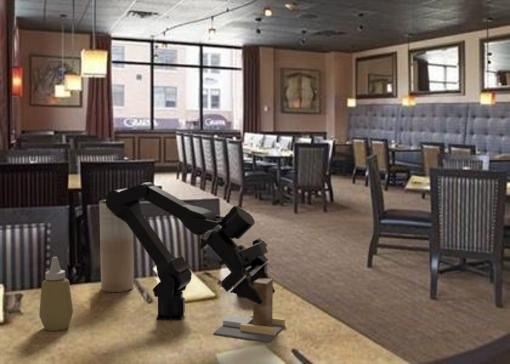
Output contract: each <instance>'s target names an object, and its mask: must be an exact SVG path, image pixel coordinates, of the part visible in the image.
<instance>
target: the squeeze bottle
mask: <svg viewBox="0 0 510 364" xmlns="http://www.w3.org/2000/svg"><path fill="white" fill-rule="evenodd" d="M44 275H45V277H44V278H45V279H44V280H43V281H42V282H41V288H40V298H39V299H40V300H39V301H40V302H39V314H38V316H39V318H40V321H41V324H42V326H43V328H44V329H45V331H46V330H47V331H51V332H57V331H63V330H65V329H67V328H68V327H69V326H70V323H71V320H72V317H73V314H74V313H73V312H74V308H73V300H72V293H71V286H70V280H69V279H68V278H66V271H65V270H63V269H61V266H60V261H59V259H58V256H52V258H51V264H50V268H49V270H47V271H45V274H44Z"/></svg>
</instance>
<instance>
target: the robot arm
mask: <svg viewBox="0 0 510 364" xmlns="http://www.w3.org/2000/svg"><path fill="white" fill-rule="evenodd" d="M105 200H106V201H105V204H106V206H107V208H108V209H109V210H110V211H111V212H112V213H113V214H114V215H115V216H116V217H118V218H119V219H121V220H123V221H124V222H126V223H127V225H128V226H129V228H130V229H131V230H132V232H133V236H135V237H136V239H137V240H138V242H139V243H140V244H141V246H142V248H143V249H144V250H145V252H146V254H147V255H148V256H149V257H150V258H151V260H152V261H153V263H154V264H155V267H156V275H157V278H158V279H159V282H158V283H157V284H156V285H155V286H154V287H153V288H152V292H153V295H154V297H156V298H157V315H156V318H155V319H156V320H181V319H182V317H183V316H184V315H185V313H186V298H185V297H184V296H183V295H184V294H183V293H184V292H183V291H186V289H187V286H188V285H189V284H190V283H191V281H192V275H193V274H192V270H191V265H189V264H188V263H187V261H186V260H185V258H184V257H183V256H182V255H180V256H177V257H176V256H174V255H173V254H171V252H170V251H169V250H168V247H166V245H165V243H163V241H162V240H161V238H160V237H159V236H158V234H157V233H156V232H155V230H154V229H153V227H152V226H151V225H150V223H149V221H147V218H146V217H145V215H144V214H143V213H142V209H141V203H140V202H141V201H143V200H145V201H146V202H148V203H151V204H153V205H154V206H156V207H157V208H158V209H159V208H160V209H161V210H163V211H165V212H166V213H168V214H170V215H171V216H173V217H175V218H177V219H178V220H179V221H180V222H181V223H182V225H183V227H185V228H186V229H187V230H188V231H190V232H191V234H194V235H196V236H202V235H205V234H208V233H209V234H208V235H207V237H206V236H205V237H202V238H200V245H199V249H200V250H203V249H205V248H210V250H211V251H212V252H213V253H214V254H215V255H216V257H218V259H219V262H218V264H219V265H220V266H221V267H222V266H225V267H226V268H227V270H228V271H229V274H227V275H226V277H224V278H223V279H222V280H221V287H222V289H223V290H224V291H225V292H226V293H228V292H229V293H231V294H235V295H236V296H237V295H240V296H242V297H241V298H243V297H244V298H245V299H247V300H249V301H250V302H255V303H258V304H261V303H262V302H263V301H262V299H261V297H260V296H259V294H258V293H257V291H256V290H255V288H254V287H253V286H252V284H251V281H253V282H254V281H256V280H257V279H259V278H267V279H270V278H269V275H268V270H267V269H268V266H269V263H268V261H269V259H268V258H267V257H266V256H265V254H268V253H269V251H268V249H267V247H268V243H266V242H265V240H263V239H261V238H260V237H259V238H257V239H254V240H253V241H252V245H250V246H247V247H245V246H244V245H242V244H239V245H238V244H237V243H236V242H235V240H234V239H236V240H239V239H241V238H242V237H243V236H244V235H245V234H246V233H247V232H248V231H249V230H250V229H251V228H252V227H253V226H254V225H255V223H256V222H255V219H254V217H253V216H252V215H251V214H250V212H247V211H246V210H245V209H243V208H240V207H239V205H237V204H236V205H233V206H232V207H231V208H230V210H229V212H227V213H226V214H225V216H221V215H218V214H216V213H215V212H213V211H212V210H210V209H207V208H204V207H202V206H196V205H192V204H189V203H187V202H185V201H183V200H182V199H179V198H177V197H176V196H174V195H172V194H171V193H170V192H168V191H166V190H164V189H162V188H160V187H159V186H157V185H156V184H154V182H153V183H152V182H151V181H148V182H141V183H139V184H138V185H135V186H132V187H129V188H127V187H125V188H121V189H115V190H110V191H109V192H108V193H107V194H106V196H105ZM218 228H219V229H218ZM215 229H218V230H217V231H216V230H215ZM246 275H247V276H246ZM250 276H252V277H251V278H250ZM275 292H276V291H275V288H274V287H273V294H274V293H275Z"/></svg>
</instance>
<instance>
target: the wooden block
mask: <svg viewBox="0 0 510 364" xmlns="http://www.w3.org/2000/svg"><path fill="white" fill-rule="evenodd" d="M273 284H274V279H273V278H269V279H267V278H259V279H257V280H256V281H254V282H253V287H254V288H255V290H256V291H257V293H258V294H259V296H260V297H261V299H262V301H263V302H262V303H261V304H258V303H255V302H253V301H252V302H253V303H252V304H253V305H252V306H253V307H252V309H253V310H252V312H253V313H252V314H253V325H260V326H267V327H271V326H272V317H273V314H274V311H273V309H274V307H273V305H274V304H273V300H274V297H273V296H274V293H273V288H274V285H273Z"/></svg>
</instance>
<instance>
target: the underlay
mask: <svg viewBox="0 0 510 364" xmlns="http://www.w3.org/2000/svg"><path fill="white" fill-rule="evenodd" d="M285 326H286V318H284V317H283V318H282V317H277V316H276V317H275V316H272V326H271V327H267V326H260V325H253V313H252V314H251V315H250V317H247V316H241V315H240V316H239V315H232V314H230V315H228V316H227V317H226V318H225V319H223V320H222V325H221V326H220V327H218V328H217V329H216V330H215V331H214V332H213V334H212V335H217V336H223V337H229V338H237V339H241V340H250V341H257V342H262V343H263V342H264V343H271V341H272V340H273V339H274V338H275V337H276V336H277V335H278V334H279V333H280V332H281V331H282V330H283V329H284V328H285Z"/></svg>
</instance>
